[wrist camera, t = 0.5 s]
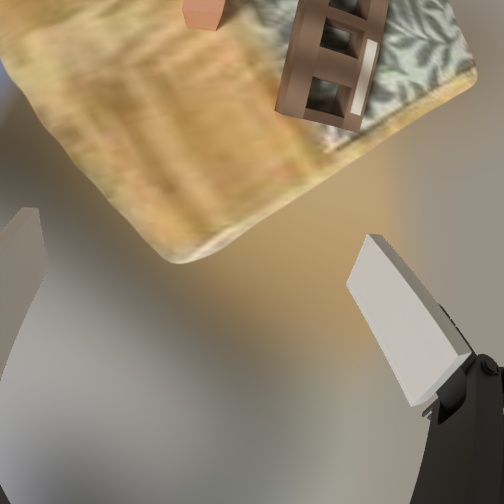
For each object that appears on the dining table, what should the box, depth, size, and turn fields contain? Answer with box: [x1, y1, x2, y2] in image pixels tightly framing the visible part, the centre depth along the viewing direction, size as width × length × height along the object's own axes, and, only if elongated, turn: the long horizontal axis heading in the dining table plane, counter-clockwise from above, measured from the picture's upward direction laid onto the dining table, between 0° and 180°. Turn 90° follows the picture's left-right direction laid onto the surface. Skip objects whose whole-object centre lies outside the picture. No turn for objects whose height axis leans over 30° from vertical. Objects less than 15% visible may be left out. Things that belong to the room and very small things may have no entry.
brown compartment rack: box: [275, 0, 389, 133], centre depth 24 cm, size 25×9×4 cm, turn 169°
